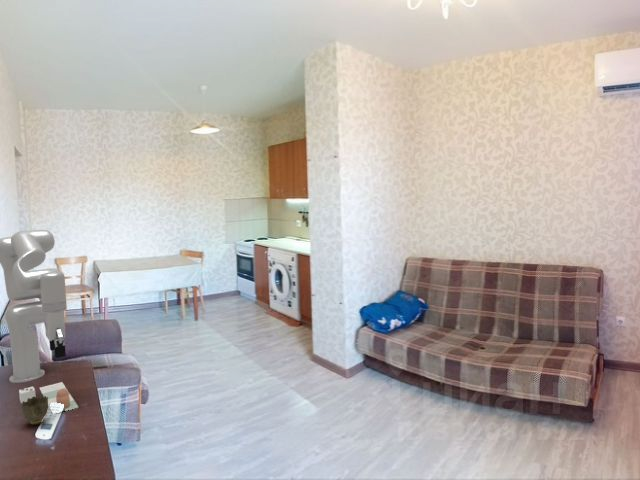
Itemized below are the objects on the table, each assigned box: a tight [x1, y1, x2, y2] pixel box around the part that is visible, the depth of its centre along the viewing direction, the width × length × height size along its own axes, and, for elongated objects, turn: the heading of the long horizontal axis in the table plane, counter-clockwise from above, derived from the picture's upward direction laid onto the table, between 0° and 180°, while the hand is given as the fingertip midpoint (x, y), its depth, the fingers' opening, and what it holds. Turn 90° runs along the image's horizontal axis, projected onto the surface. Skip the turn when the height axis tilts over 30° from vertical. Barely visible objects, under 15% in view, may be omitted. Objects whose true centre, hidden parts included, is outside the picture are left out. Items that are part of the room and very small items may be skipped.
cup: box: [20, 395, 49, 426], centre depth 146 cm, size 8×7×8 cm
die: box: [18, 386, 37, 406], centre depth 163 cm, size 4×4×5 cm
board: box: [39, 381, 79, 412], centre depth 165 cm, size 30×8×1 cm, turn 40°
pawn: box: [56, 388, 70, 409], centre depth 157 cm, size 4×4×6 cm
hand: (57, 353), depth 157 cm, fingers open, 9 cm apart
